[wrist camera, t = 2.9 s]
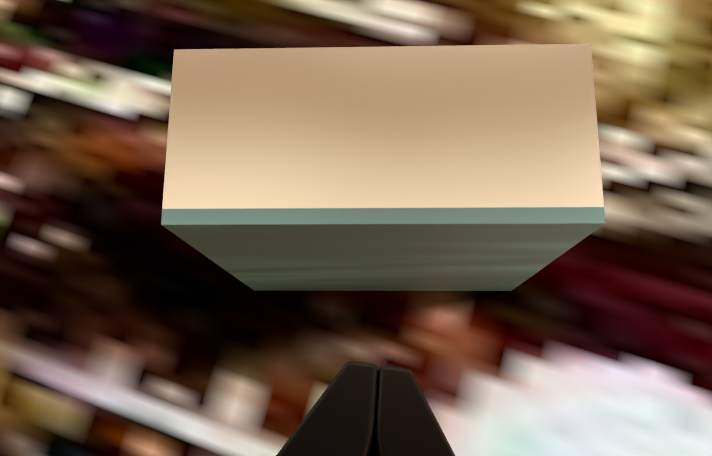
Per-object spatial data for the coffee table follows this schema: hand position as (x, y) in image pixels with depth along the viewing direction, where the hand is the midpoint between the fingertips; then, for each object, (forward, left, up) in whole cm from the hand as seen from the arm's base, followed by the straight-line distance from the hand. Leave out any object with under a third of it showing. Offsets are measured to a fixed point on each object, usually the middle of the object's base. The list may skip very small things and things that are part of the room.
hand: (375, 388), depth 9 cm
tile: (+3, +3, -12) cm, 12 cm away
